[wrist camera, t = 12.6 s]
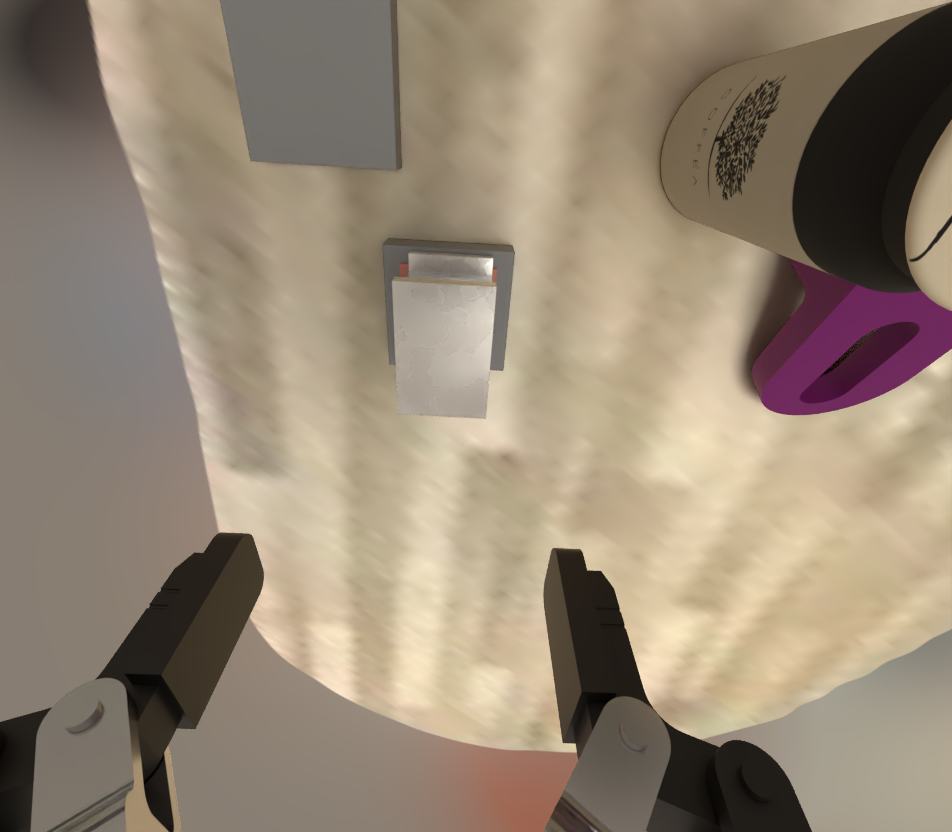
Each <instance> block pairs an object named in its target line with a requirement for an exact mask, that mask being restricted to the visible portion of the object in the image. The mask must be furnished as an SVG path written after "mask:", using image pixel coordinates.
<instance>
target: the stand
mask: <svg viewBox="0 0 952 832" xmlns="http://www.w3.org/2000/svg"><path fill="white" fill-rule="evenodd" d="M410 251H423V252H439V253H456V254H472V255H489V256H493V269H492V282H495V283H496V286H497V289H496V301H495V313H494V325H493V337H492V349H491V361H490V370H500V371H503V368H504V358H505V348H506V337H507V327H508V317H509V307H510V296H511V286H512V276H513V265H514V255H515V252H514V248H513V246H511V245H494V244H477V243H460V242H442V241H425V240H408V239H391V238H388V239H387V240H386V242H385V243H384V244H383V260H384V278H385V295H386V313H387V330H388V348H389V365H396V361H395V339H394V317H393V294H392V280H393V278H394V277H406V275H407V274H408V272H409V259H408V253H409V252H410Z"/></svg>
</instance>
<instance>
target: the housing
mask: <svg viewBox="0 0 952 832" xmlns="http://www.w3.org/2000/svg"><path fill="white" fill-rule="evenodd" d="M408 259H409V272H408V274H407V275H406V277H394V278H393V280H392V294H393V317H394V339H395V361H396V384H397V406H398V414H405V415H425V416H444V417H464V418H483V419H486V410H487V398H488V385H489V373H490V361H491V349H492V337H493V325H494V313H495V301H496V289H497V286H496V283H495V282H492V269H493V256H489V255H472V254H456V253H439V252H423V251H410V252H409V253H408Z"/></svg>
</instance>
